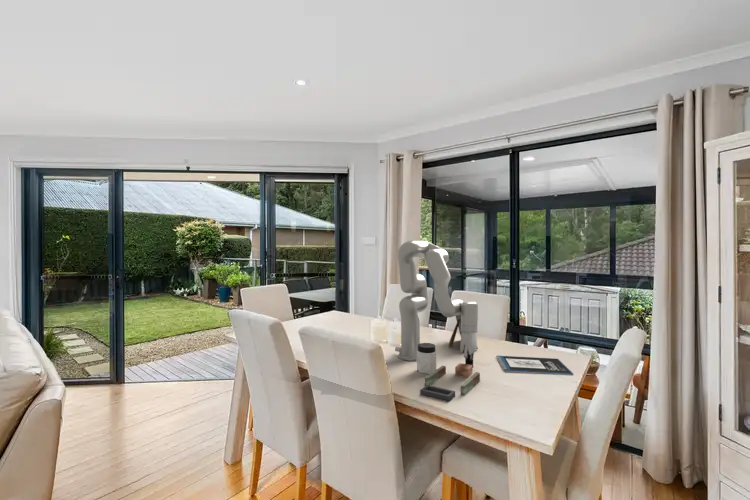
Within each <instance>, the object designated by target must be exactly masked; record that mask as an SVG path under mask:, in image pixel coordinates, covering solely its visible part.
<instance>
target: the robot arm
mask: <svg viewBox="0 0 750 500" xmlns="http://www.w3.org/2000/svg"><path fill="white" fill-rule="evenodd" d="M397 251H398V252H397V261H398V269H399V271H398V273H399V282H400V283H399V285H400V289H401V291H402V292H403V293H405V294H411V295H407V296H404V297H403V298H401V300H400V301H399V303H398V306H399V307H398V308H399V313H400V334H401V335H400V338H401V339H400V346H395V349H394V351H395V352H398V354H397V355H398V356H397V357H398V359H400V360H402V361H407V362H408V361H411V362H412V361H417V350H418V344H420V343H421V339H420V338H421V337H420V336H421V334H420V332H421V324H420V318H419V316H418V313H422V312H424V311H426V310H427V308H428V305H429V298H428V286H427V284H428V283H427V281H426V278H425V277H424V275H422V274H421V273H417V270H416V269H417V267H416V263H415V260H414V258H420V257H421V258H424V261H425V264H426V266H427V269H428V271H429V274H430V276H431V278H432V280H433V283H434V285H433V287H434V288H433V291H434V300H435V301H436V304H437V308H438V310H439V311H440V314H441V315H442V316H444V317H446V318H453V317H456V315H460V314H461V332H462V334H461V336H460V347H459V351H460V352H459V353H460V354H463V353H464V354H463V357H464V359H465V363H464V364H469V365H472V369H473V368H474V354H475V352H476V351H477V350H478V349H477V347H478V338H477V337H478V336H477V334H478V332H479V330H478V329H479V323H478V322H479V320H478V319H479V317H478V316H479V306H478V303H477V302H476V301H474V300H473V301H472V300H464V299H460V298H455V299H451V296H450V294H449V290H448V288H449V283H450V281H451V279H452V276H451V273H450V271H449V269H448V266H447V265H446V264H448V262H449V260H450V259H449V258H450V256H449V253H448V252H447V251H446V250H445V249H444V248H443V247H440V246H438V245H435V244H433V243H431V242H429V241H427V240H420V239H419V240H416V239H415V240H414V239H413V240H407V241H405V242H403V243H402V244H401V245H400V246H399V248H398V250H397Z"/></svg>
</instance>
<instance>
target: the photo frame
mask: <svg viewBox="0 0 750 500" xmlns="http://www.w3.org/2000/svg"><path fill="white" fill-rule="evenodd" d="M455 319H456V324H455V326H454V329H453V332H452V334H451V336H450V339H449V343H448V349H450V348H452V347H453V346H454V342H455V338H456V335H457V331H459V336H460V337H461V334H462V332H461V314H460V315H456V316H455ZM476 350H478V346H477V349H476Z"/></svg>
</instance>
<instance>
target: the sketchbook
mask: <svg viewBox="0 0 750 500" xmlns="http://www.w3.org/2000/svg"><path fill="white" fill-rule="evenodd" d="M495 359H496V360H497V362H498V364H499V366H500V367H501V370H502V371H503V372H505V373H517V374H518V373H520V374H523V373H524V374H542V375H543V374H544V375H546V374H547V375H564V376H566V375H567V376H568V375H569V376H574V372H572V371H571V370H570V369H569V368H568V367H567V366H566V365H565V364H564V363H563V362H562V361H561V360H560V359H559V358H555V357H554V358H550V357H535V356H534V357H532V356H530V357H529V356H515V355H514V356H513V355H512V356H511V355H499V354H498V355H496V357H495Z"/></svg>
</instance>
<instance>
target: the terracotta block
mask: <svg viewBox="0 0 750 500" xmlns="http://www.w3.org/2000/svg"><path fill="white" fill-rule="evenodd" d="M454 371H455V372H454V373H455V376H457V377H463V378H467V379H469V378H470V377H471V376H472V375H473V368H472V365H469V364H465V363H462V362H459V363H457V364H456V366H455V368H454Z"/></svg>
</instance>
